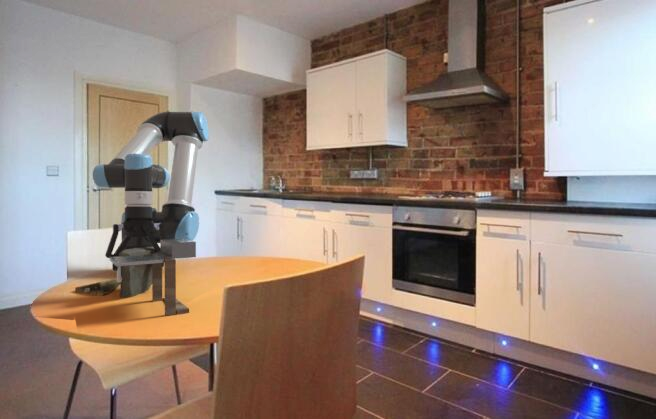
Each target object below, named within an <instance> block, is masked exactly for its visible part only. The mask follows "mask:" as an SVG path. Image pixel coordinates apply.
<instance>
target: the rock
mask: <svg viewBox="0 0 656 419" xmlns="http://www.w3.org/2000/svg"><path fill="white" fill-rule="evenodd" d="M120 283H121V282H117V277H116V278H112V279H109V280H103V281H102V280H101V281H99V282H95V283H93V282H92V283H89V284H85V285H80V286H76V287H75V290H74V292H75V293H80V294H86V295H91V296H98V297H99V296H102V297H103V296H104V295H107V294H109V293H111V292H112V291H113V290H115V289H117V288H118V287H119V286H120Z"/></svg>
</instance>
